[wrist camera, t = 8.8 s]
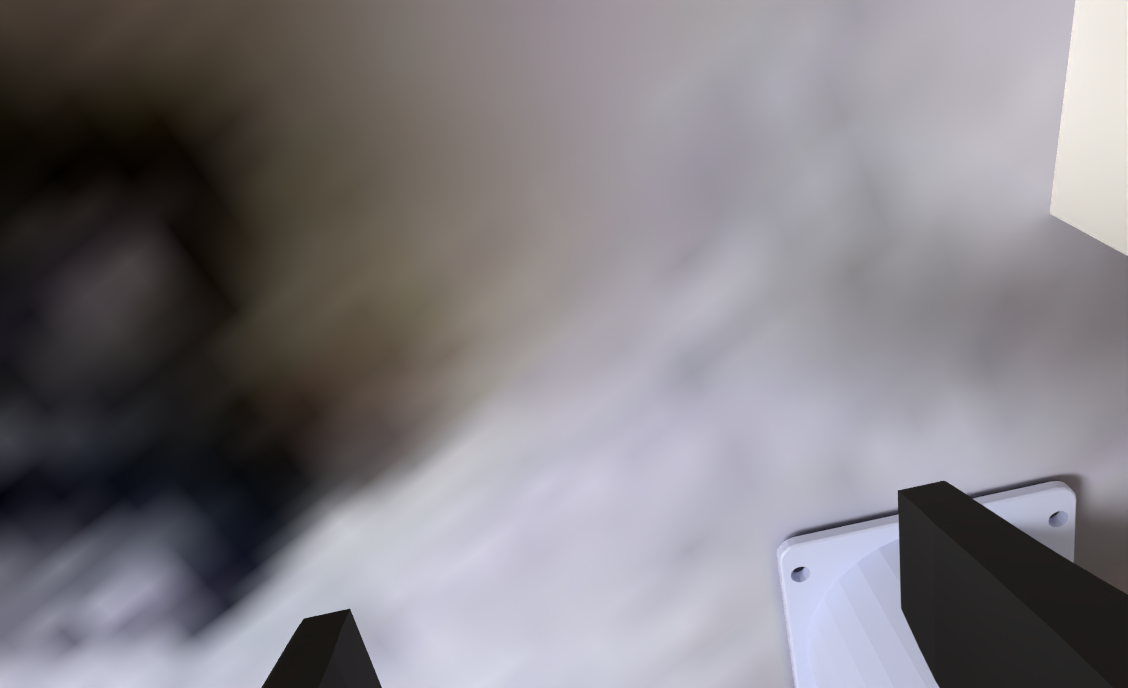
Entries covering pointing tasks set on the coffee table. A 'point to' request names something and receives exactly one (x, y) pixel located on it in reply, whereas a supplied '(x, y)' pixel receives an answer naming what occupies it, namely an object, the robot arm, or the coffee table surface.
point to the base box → (1095, 126)
